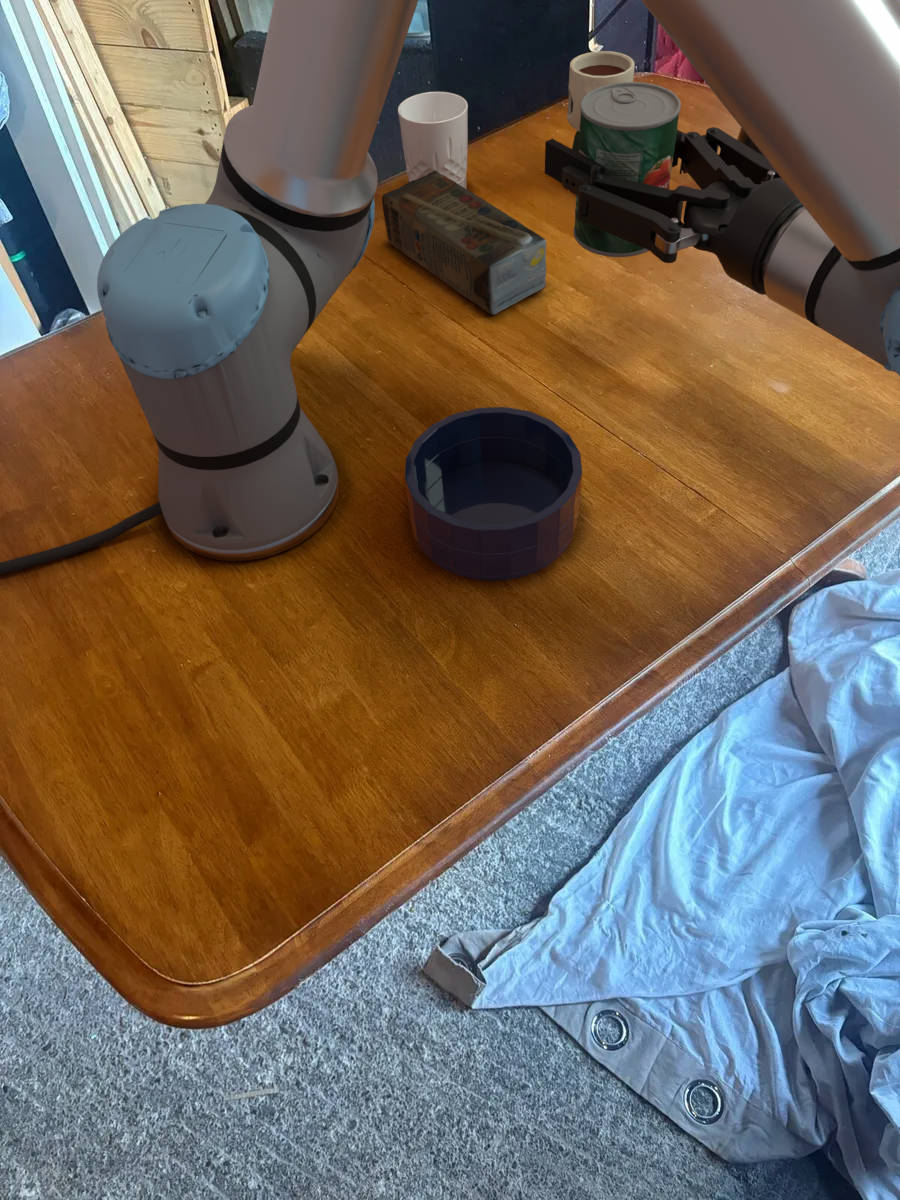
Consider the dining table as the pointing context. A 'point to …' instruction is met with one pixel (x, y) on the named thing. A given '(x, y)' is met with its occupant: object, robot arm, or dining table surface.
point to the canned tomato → (627, 147)
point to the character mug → (594, 80)
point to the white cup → (435, 135)
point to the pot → (493, 492)
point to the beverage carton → (465, 241)
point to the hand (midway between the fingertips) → (586, 140)
